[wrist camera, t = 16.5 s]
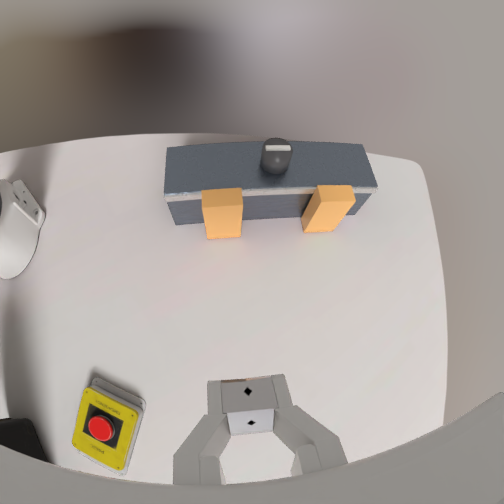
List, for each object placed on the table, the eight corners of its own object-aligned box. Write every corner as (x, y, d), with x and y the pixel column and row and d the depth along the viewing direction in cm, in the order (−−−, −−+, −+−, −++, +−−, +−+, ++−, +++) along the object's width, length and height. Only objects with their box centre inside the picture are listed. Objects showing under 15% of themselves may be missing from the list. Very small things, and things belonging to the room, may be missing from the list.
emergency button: (140, 405, 31) (117, 486, 26) (148, 400, 35) (126, 476, 30) (82, 376, 32) (64, 456, 27) (95, 374, 36) (76, 449, 31)
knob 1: (240, 236, 44) (243, 204, 35) (207, 239, 43) (201, 207, 34) (233, 161, 49) (234, 121, 39) (204, 162, 48) (201, 123, 39)
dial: (291, 174, 38) (296, 158, 35) (262, 174, 37) (264, 159, 34) (286, 151, 39) (290, 136, 36) (258, 151, 39) (260, 135, 36)
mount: (355, 216, 47) (378, 188, 38) (175, 227, 44) (163, 196, 35) (343, 176, 50) (362, 144, 41) (176, 182, 47) (167, 147, 38)
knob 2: (332, 231, 46) (355, 201, 36) (303, 232, 45) (321, 201, 36) (315, 159, 50) (330, 122, 41) (288, 159, 50) (300, 121, 40)
